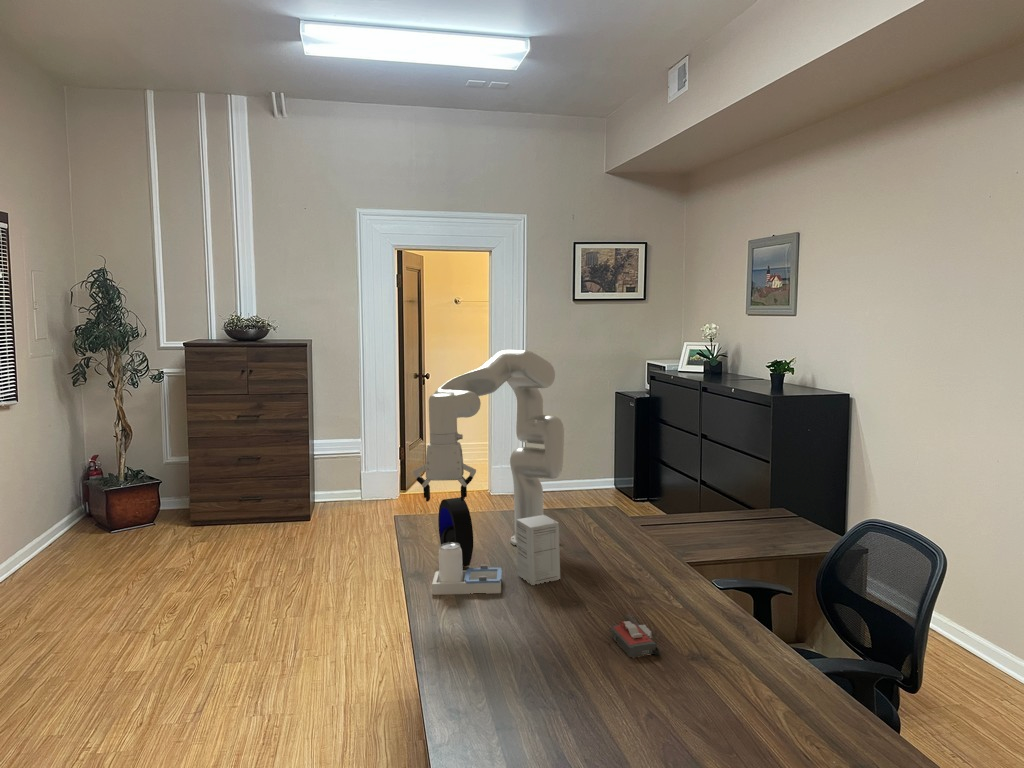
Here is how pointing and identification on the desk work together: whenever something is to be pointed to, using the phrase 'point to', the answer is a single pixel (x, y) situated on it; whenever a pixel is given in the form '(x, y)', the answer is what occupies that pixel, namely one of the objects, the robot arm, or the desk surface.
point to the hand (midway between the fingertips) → (445, 500)
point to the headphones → (456, 526)
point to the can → (450, 563)
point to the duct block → (471, 582)
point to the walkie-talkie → (634, 638)
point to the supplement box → (538, 549)
